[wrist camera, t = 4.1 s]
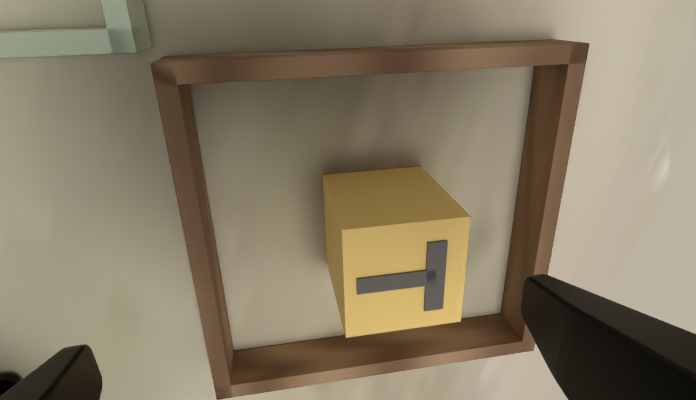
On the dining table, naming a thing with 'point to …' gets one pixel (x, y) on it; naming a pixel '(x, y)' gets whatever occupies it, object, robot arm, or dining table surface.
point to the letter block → (394, 250)
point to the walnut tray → (395, 346)
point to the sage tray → (85, 35)
